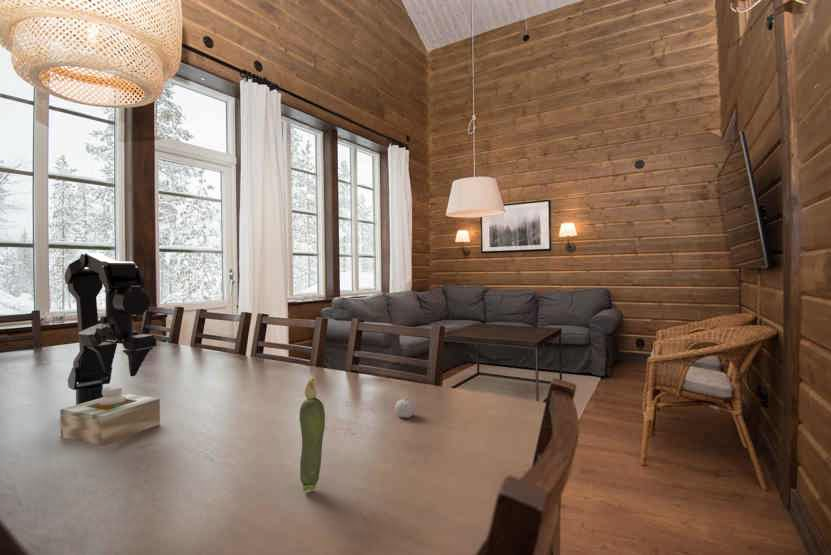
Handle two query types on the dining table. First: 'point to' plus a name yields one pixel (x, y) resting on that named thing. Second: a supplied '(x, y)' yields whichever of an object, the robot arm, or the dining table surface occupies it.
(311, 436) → the vegetable
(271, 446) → the dining table surface
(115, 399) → the supplement bottle
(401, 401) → the garlic
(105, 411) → the crate
